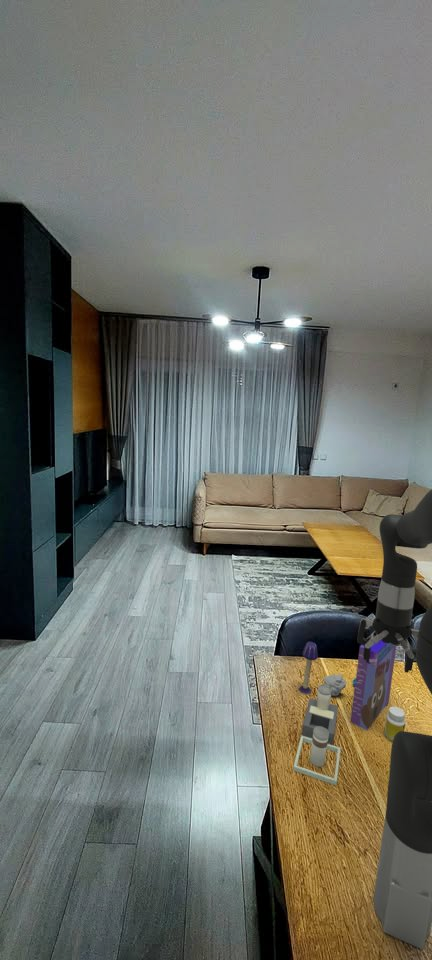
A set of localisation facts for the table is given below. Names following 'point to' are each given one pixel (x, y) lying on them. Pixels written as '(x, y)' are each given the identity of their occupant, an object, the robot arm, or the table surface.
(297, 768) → the pale green flat frame
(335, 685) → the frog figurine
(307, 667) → the toy lamp
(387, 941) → the table surface
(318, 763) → the cylinder
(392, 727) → the supplement bottle
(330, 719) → the fuse block
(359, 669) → the cereal box
